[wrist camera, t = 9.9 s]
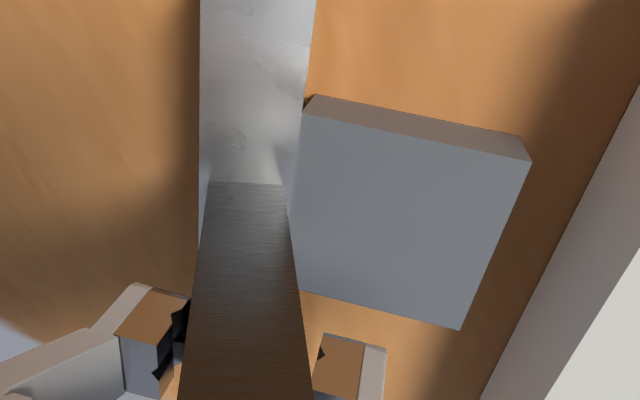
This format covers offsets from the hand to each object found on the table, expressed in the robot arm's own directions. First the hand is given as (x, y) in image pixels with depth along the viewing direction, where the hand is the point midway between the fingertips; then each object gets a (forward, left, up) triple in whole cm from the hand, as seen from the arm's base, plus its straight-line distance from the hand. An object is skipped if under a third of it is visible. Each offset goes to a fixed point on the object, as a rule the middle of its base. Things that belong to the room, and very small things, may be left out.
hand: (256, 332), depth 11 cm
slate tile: (0, +3, -8) cm, 8 cm away
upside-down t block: (0, -3, -7) cm, 8 cm away
